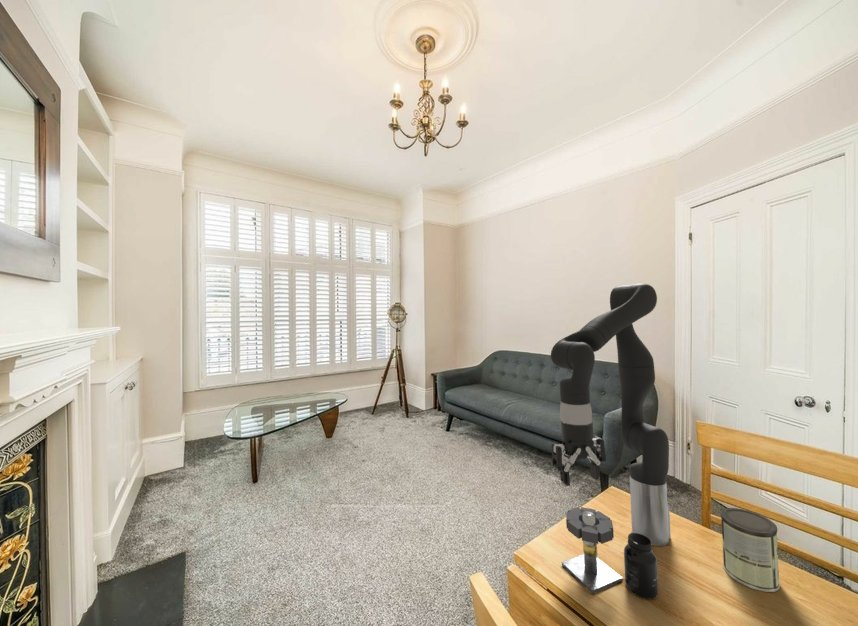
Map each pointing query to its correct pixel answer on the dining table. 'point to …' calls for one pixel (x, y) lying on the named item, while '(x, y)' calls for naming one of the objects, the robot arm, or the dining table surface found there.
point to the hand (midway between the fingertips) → (580, 481)
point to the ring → (589, 526)
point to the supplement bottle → (640, 567)
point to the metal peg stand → (591, 564)
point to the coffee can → (750, 549)
